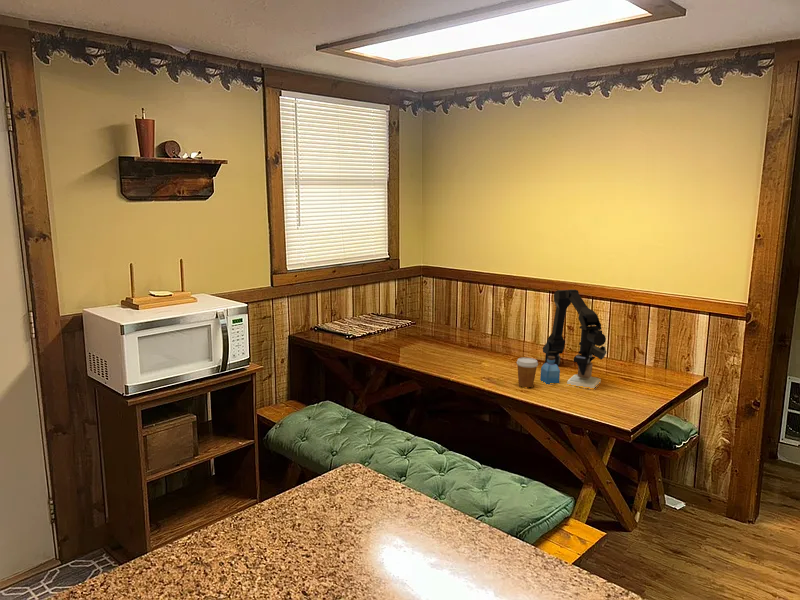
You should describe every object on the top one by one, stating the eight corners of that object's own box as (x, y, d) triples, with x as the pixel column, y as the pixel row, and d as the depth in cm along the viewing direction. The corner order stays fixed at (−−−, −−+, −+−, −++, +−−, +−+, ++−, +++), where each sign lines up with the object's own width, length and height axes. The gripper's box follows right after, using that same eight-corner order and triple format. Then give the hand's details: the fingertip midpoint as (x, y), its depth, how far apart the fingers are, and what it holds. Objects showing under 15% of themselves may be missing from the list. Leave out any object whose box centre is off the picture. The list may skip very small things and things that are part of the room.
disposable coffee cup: (521, 381, 284) (523, 356, 282) (540, 385, 278) (542, 360, 276) (511, 386, 277) (512, 360, 275) (530, 390, 271) (532, 364, 269)
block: (577, 376, 280) (578, 363, 279) (580, 373, 285) (581, 361, 284) (588, 378, 278) (589, 365, 277) (591, 375, 282) (592, 363, 281)
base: (566, 385, 280) (567, 379, 280) (574, 378, 290) (574, 373, 290) (593, 390, 274) (594, 384, 273) (600, 383, 284) (600, 377, 283)
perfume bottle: (546, 384, 280) (548, 359, 278) (540, 380, 286) (541, 355, 284) (559, 383, 282) (560, 358, 280) (552, 379, 288) (554, 354, 286)
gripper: (600, 347, 266) (597, 382, 269) (610, 338, 282) (607, 371, 285) (574, 343, 272) (571, 377, 275) (585, 335, 288) (583, 367, 291)
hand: (584, 373), depth 281 cm, fingers closed on block, 5 cm apart
